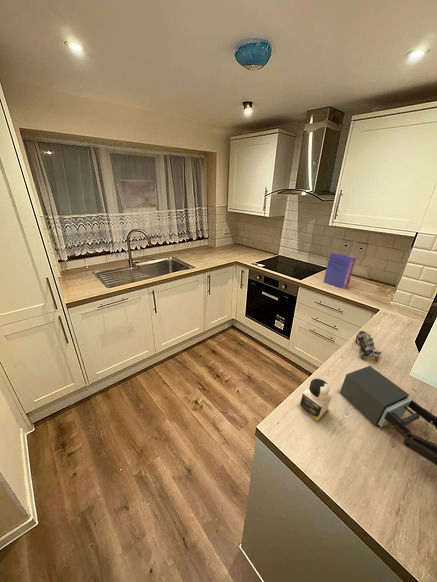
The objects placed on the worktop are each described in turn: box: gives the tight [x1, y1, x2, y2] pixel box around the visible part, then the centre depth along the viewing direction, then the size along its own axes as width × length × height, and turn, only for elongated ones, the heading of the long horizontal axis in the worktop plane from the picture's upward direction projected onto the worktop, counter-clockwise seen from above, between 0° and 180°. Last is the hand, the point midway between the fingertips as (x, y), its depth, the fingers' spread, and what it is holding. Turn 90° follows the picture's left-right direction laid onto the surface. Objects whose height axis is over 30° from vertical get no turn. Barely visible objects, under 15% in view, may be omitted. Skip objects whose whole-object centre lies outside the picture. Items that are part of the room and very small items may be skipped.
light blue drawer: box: [377, 397, 421, 428], centre depth 82 cm, size 18×11×8 cm, turn 23°
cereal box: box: [323, 252, 357, 290], centre depth 183 cm, size 17×5×24 cm, turn 42°
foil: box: [355, 330, 382, 362], centre depth 113 cm, size 12×11×15 cm
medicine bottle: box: [299, 378, 332, 421], centre depth 82 cm, size 7×7×12 cm
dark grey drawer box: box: [339, 365, 410, 426], centre depth 85 cm, size 15×13×10 cm
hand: (398, 408), depth 77 cm, fingers closed on light blue drawer, 11 cm apart
